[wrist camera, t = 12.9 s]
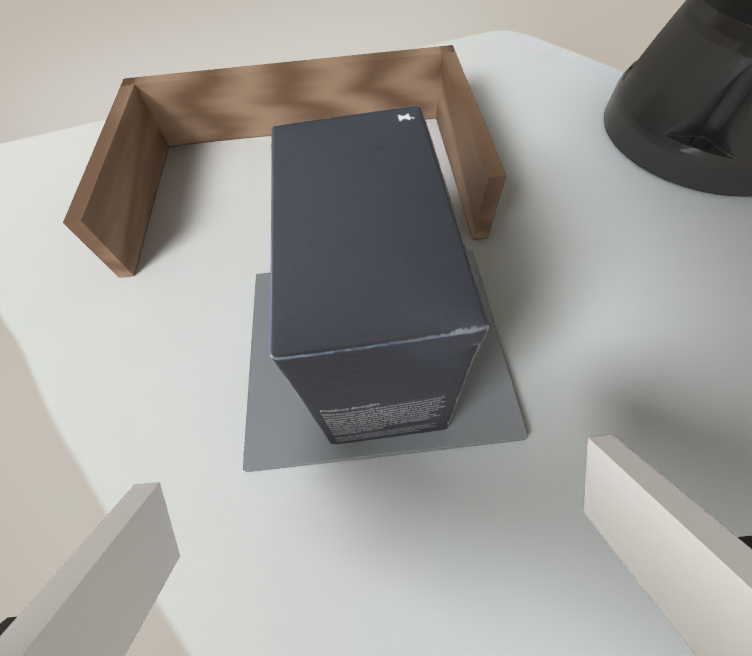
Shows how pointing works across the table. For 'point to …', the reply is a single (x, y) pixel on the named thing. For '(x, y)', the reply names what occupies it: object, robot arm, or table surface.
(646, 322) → the table surface
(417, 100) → the walnut bay
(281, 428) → the rubber mat
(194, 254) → the table surface
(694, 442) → the table surface
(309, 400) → the small box
